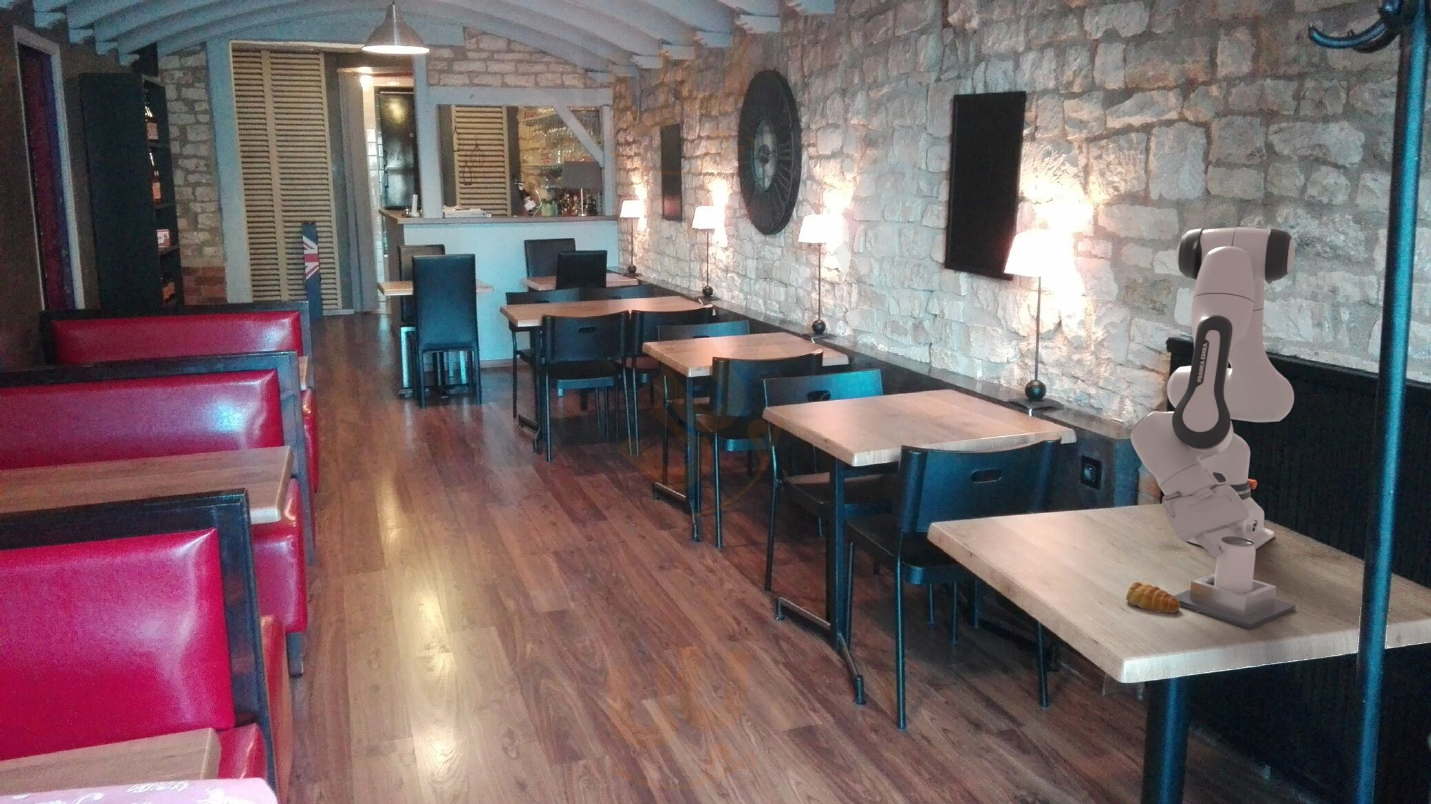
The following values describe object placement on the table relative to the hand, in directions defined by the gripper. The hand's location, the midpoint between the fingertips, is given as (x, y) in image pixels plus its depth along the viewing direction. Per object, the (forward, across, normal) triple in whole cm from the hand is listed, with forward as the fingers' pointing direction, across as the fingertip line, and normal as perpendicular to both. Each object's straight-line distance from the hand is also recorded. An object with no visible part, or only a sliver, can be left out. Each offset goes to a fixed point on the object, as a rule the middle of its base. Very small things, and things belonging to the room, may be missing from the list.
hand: (1232, 550), depth 211 cm
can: (+8, 0, +6) cm, 10 cm away
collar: (+8, 0, +7) cm, 11 cm away
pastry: (+2, -12, +14) cm, 18 cm away
